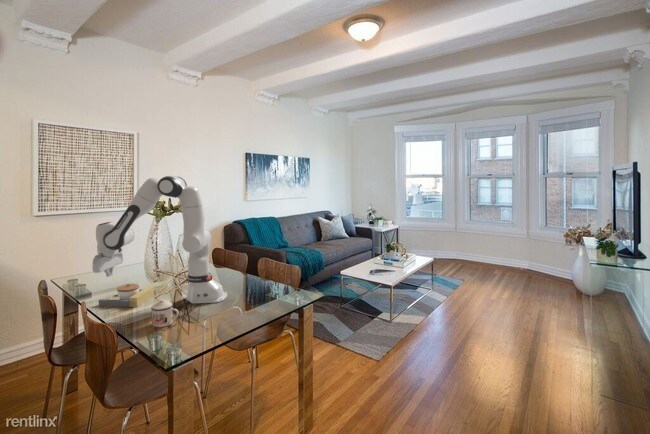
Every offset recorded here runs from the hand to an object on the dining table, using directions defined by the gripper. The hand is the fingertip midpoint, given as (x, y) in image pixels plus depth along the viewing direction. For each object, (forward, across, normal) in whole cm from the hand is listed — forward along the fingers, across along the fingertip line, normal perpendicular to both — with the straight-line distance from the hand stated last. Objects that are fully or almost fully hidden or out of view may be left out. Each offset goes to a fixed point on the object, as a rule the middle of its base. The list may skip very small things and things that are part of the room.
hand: (109, 275), depth 186 cm
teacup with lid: (+15, -27, -45) cm, 55 cm away
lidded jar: (+14, 0, -10) cm, 17 cm away
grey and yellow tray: (+14, 0, -10) cm, 17 cm away
